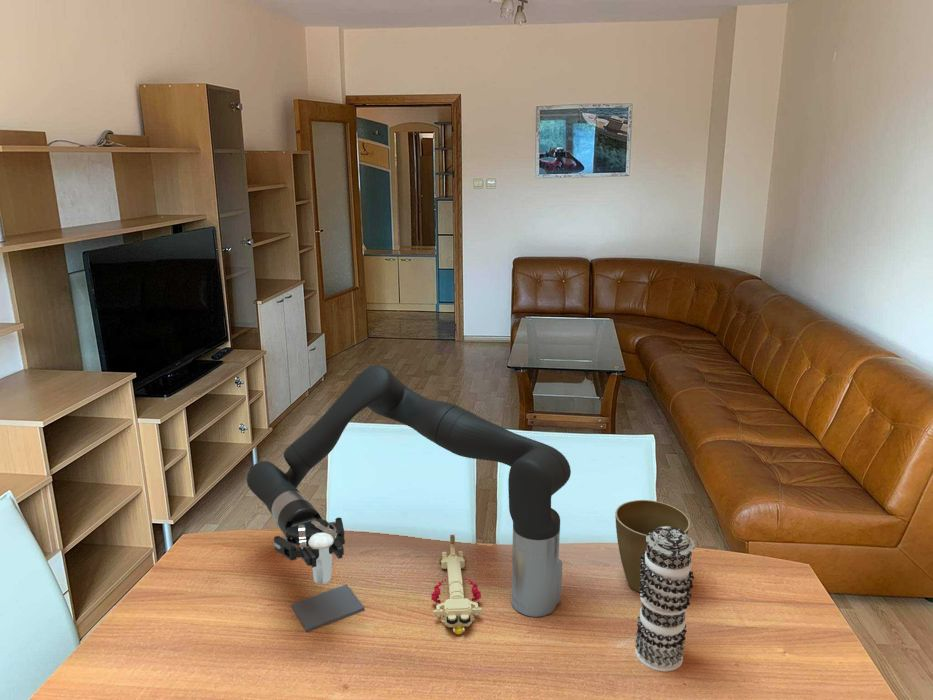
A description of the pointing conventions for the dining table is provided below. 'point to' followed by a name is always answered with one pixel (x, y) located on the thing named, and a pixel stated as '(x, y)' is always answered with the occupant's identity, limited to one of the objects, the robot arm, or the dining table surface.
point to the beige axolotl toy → (456, 593)
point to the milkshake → (322, 556)
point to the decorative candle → (664, 598)
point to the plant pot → (642, 531)
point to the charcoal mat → (327, 607)
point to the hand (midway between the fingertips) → (327, 558)
